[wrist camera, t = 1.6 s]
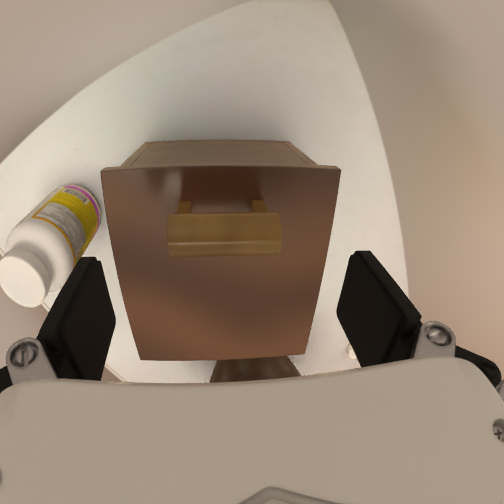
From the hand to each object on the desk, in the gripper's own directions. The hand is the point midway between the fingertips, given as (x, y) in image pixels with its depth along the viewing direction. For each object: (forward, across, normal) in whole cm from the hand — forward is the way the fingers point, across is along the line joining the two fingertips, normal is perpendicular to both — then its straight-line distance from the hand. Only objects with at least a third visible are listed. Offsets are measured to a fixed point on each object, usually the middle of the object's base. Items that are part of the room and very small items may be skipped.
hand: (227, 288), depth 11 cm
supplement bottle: (+20, +15, +5) cm, 26 cm away
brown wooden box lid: (+8, 0, +5) cm, 9 cm away
